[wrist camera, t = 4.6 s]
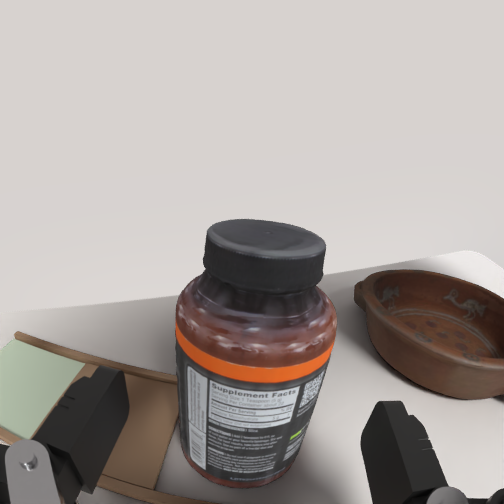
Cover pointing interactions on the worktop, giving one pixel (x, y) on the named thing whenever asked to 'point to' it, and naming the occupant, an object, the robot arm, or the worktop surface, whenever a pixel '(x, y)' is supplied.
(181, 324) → the supplement bottle
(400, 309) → the dish
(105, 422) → the robot arm
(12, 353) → the board
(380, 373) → the worktop surface
